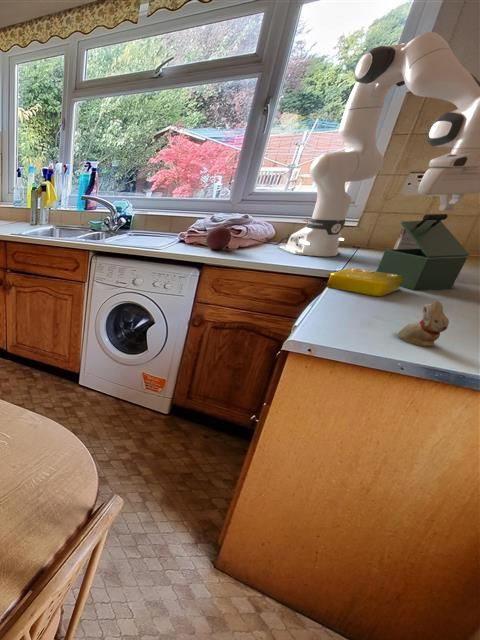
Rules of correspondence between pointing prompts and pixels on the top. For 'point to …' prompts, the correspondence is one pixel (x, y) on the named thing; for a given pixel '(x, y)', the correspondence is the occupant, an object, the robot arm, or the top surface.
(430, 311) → the chocolate bunny
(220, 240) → the decorative ball
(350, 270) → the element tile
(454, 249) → the lid
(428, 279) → the green hinged box
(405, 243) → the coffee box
